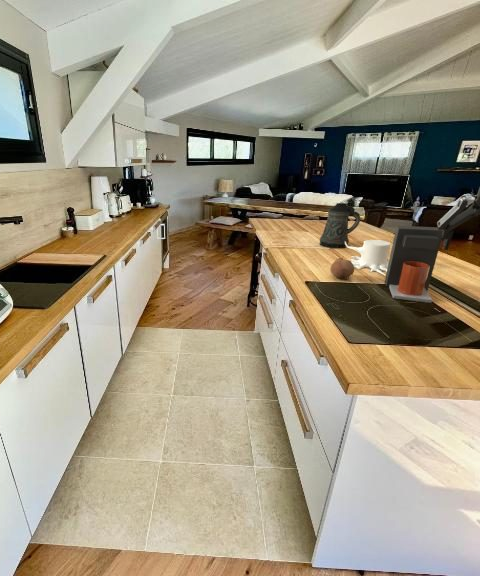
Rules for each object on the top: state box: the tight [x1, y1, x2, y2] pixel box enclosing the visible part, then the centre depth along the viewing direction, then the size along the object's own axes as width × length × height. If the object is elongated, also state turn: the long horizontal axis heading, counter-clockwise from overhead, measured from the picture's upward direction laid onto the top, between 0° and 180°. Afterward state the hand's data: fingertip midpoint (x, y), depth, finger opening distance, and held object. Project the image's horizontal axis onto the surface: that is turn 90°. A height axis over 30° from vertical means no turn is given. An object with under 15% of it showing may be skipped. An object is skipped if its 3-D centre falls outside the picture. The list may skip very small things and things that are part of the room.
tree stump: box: [345, 239, 392, 277], centre depth 153 cm, size 28×28×11 cm
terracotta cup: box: [397, 261, 430, 296], centre depth 118 cm, size 8×8×11 cm
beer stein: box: [319, 202, 361, 249], centre depth 187 cm, size 16×19×25 cm
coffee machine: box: [384, 225, 443, 304], centre depth 118 cm, size 14×18×24 cm
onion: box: [329, 257, 355, 281], centre depth 137 cm, size 10×9×10 cm
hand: (475, 246), depth 88 cm, fingers open, 13 cm apart
